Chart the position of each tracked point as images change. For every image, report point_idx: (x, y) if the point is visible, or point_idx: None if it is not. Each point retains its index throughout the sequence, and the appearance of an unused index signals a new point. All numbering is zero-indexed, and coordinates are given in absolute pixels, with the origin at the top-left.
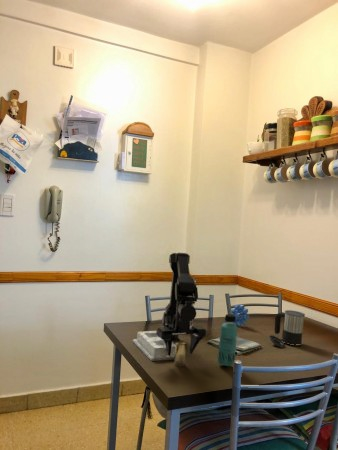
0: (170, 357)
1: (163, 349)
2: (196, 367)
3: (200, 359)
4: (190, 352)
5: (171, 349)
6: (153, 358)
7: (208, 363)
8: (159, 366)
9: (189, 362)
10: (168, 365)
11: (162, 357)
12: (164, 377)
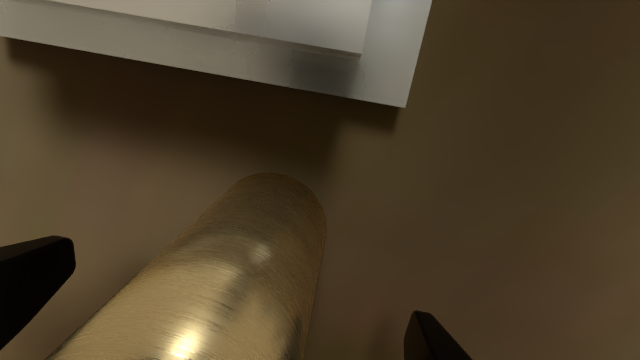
0: (236, 77)
1: (50, 1)
2: (385, 341)
3: (597, 219)
4: (409, 342)
5: (222, 32)
6: (4, 35)
7: (577, 329)
8: (62, 190)
9: (405, 233)
10: (154, 206)
11: (119, 56)
12: (45, 356)
